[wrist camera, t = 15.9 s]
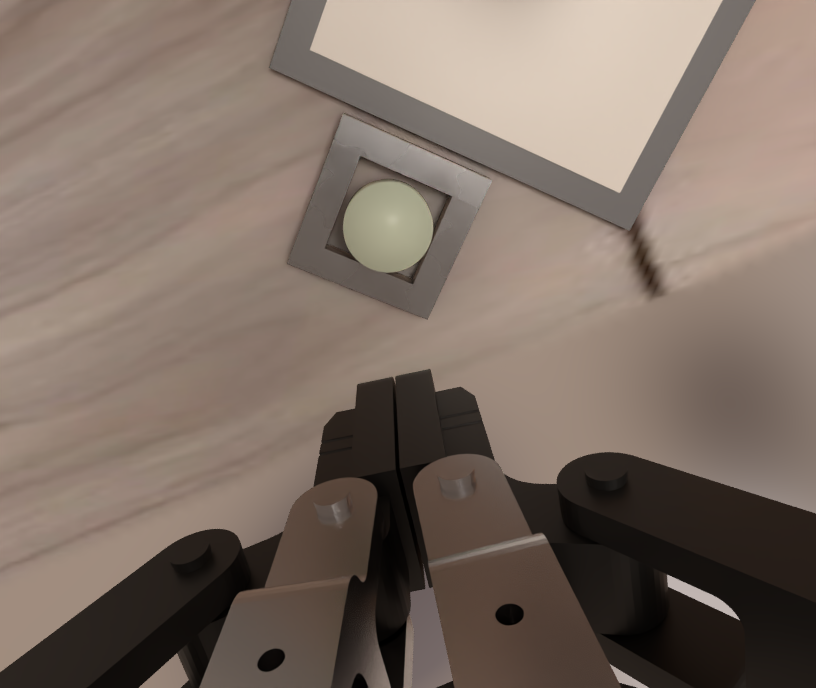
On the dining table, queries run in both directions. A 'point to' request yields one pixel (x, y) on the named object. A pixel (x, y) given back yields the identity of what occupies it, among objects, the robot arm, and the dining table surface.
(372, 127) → the button housing
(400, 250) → the button
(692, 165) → the dining table surface
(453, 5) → the clipboard
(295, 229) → the dining table surface
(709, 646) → the robot arm
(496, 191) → the dining table surface
